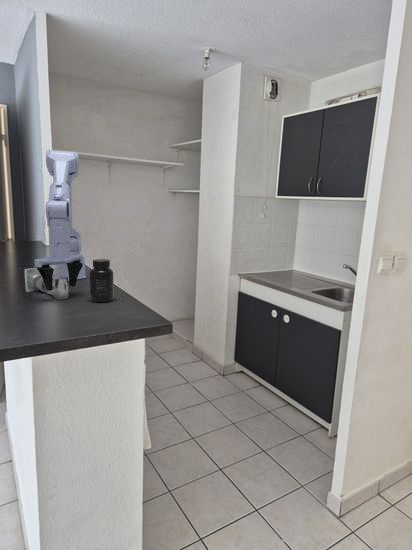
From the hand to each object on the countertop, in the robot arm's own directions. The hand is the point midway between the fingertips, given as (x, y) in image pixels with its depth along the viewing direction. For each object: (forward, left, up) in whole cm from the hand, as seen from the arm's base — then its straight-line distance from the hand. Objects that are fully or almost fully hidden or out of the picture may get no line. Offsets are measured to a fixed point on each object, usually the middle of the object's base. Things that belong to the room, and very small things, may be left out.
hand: (61, 287), depth 111 cm
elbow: (0, -2, -3) cm, 3 cm away
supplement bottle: (-7, +10, -3) cm, 13 cm away
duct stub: (0, -10, -3) cm, 11 cm away
